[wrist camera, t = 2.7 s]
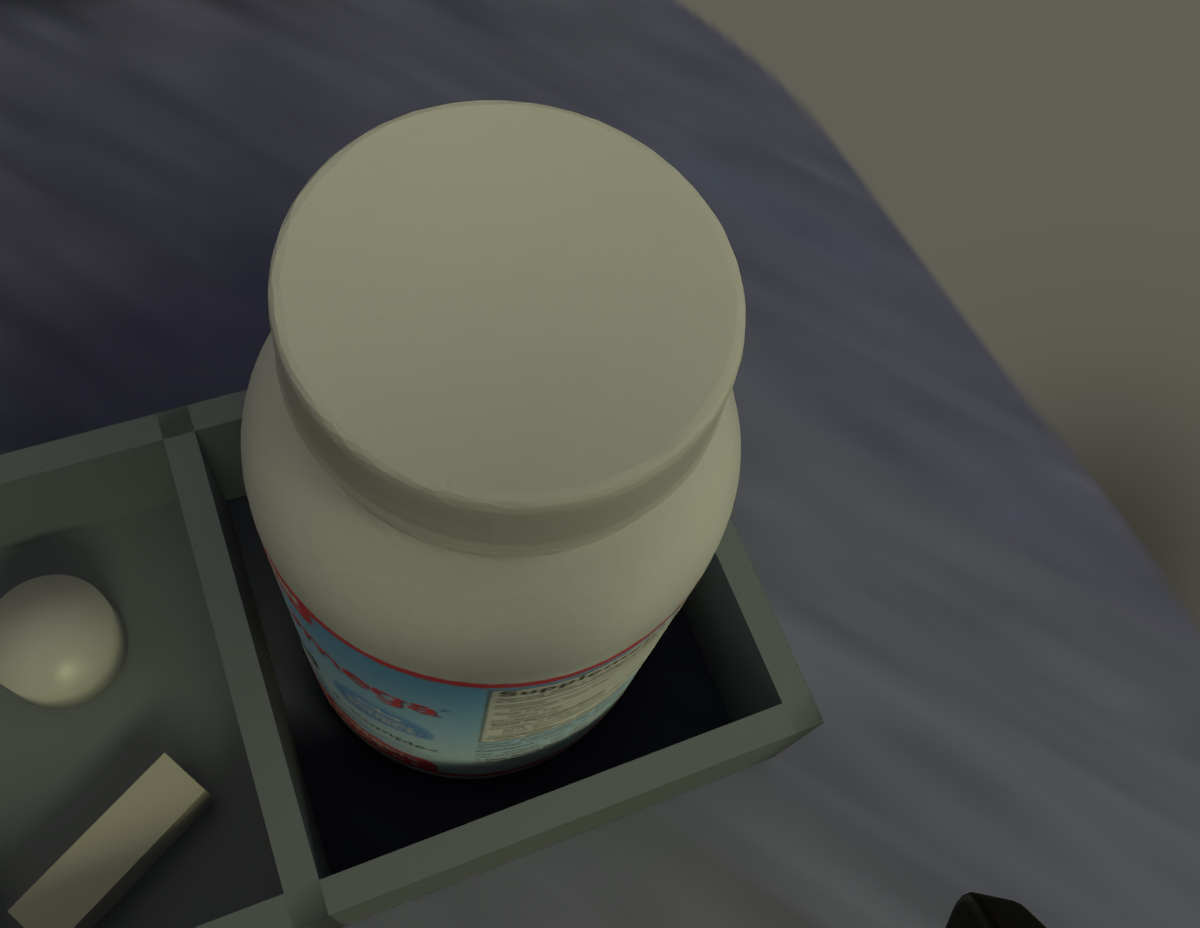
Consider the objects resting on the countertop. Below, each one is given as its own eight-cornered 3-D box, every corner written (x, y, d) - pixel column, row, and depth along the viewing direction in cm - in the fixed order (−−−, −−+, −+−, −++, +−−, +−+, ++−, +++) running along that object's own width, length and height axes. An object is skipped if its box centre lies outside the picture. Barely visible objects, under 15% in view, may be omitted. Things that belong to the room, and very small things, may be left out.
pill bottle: (255, 550, 21) (80, 147, 11) (546, 422, 23) (628, -26, 13) (396, 853, 19) (341, 708, 9) (700, 688, 21) (941, 412, 11)
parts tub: (-561, 1282, 15) (-776, 1346, 13) (-565, 700, 18) (-741, 651, 16) (774, 756, 21) (823, 722, 18) (605, 368, 24) (626, 288, 21)
